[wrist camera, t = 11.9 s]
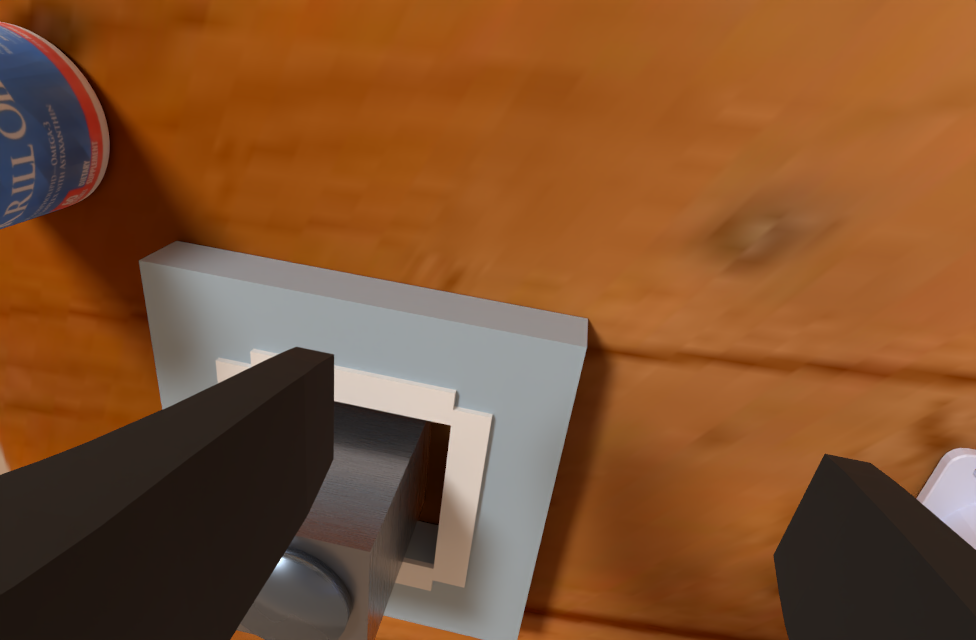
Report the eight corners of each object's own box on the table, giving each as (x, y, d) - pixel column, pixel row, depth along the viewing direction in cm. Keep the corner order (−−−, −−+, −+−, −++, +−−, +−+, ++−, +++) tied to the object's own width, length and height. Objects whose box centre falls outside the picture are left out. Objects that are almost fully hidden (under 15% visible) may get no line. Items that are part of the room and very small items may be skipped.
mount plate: (588, 318, 18) (587, 350, 16) (521, 606, 24) (514, 652, 23) (176, 240, 19) (134, 262, 18) (213, 534, 26) (184, 572, 24)
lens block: (433, 404, 21) (364, 564, 15) (425, 499, 23) (361, 674, 17) (310, 380, 21) (193, 526, 15) (313, 476, 23) (211, 638, 17)
